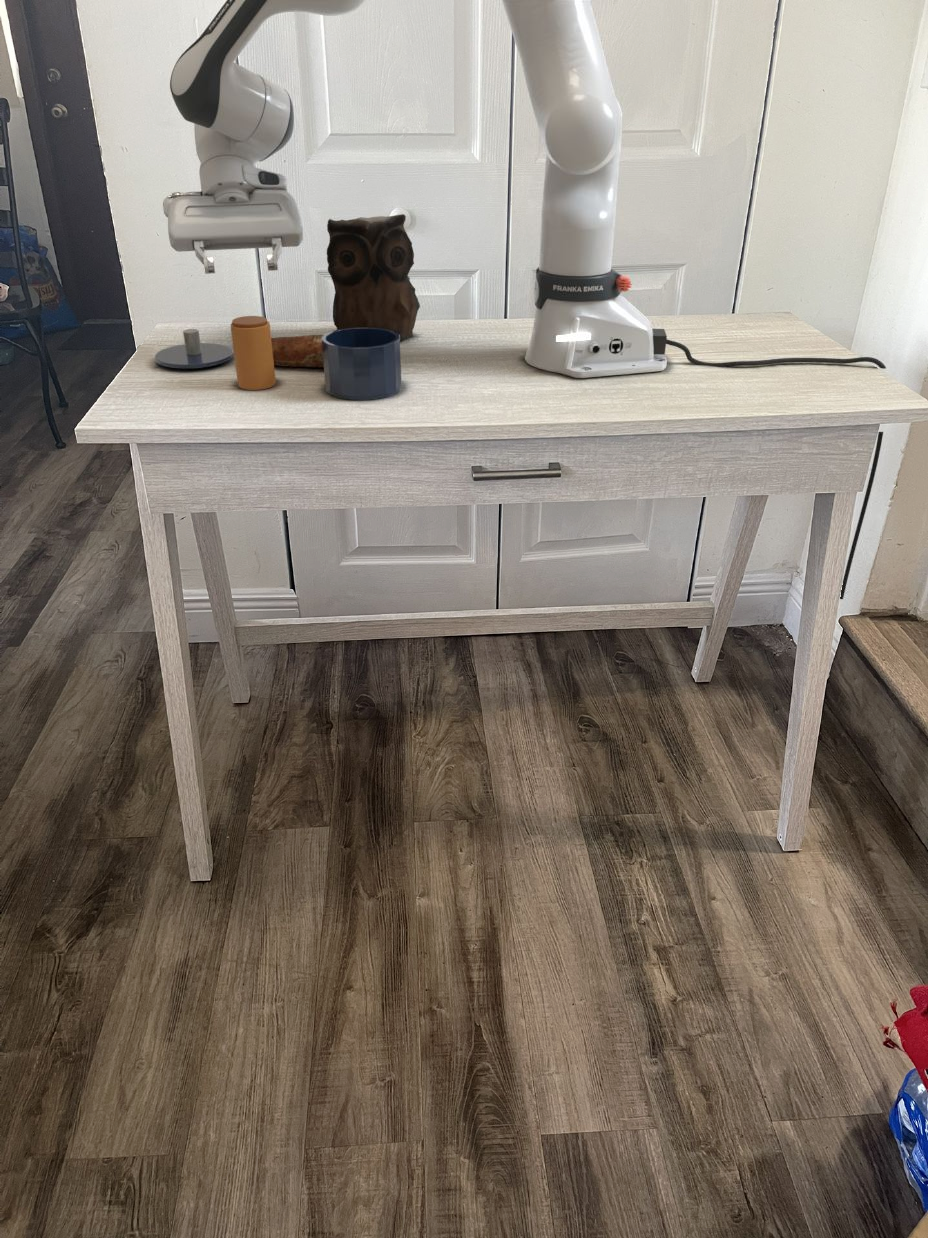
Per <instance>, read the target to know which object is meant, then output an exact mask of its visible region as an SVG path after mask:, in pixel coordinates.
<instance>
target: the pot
mask: <svg viewBox="0 0 928 1238" xmlns="http://www.w3.org/2000/svg"><path fill="white" fill-rule="evenodd" d="M322 350H323V363H324V368H323V374H324V387H325V391H326V393H328V394H329V396H330V395H331V396H332V397H335V398H338V399H343V400H347V401H348V400H349V401H350V400H351V401H372V400H373V401H374V400H380V399H385V398H389V397H392V396H394V395H396V394H398V393H399V392H400V391H401V390H402V361H401V360H402V359H401V358H402V357H401V341H400V335H399V334H398V333H396V332H394V331H392V330H388V329H383V328H373V327H353V328H345V329H339V330H337V329H336V330H331V331H328V332H326V333H325V335H324V336H322Z"/></svg>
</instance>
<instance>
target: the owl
mask: <svg viewBox="0 0 928 1238" xmlns="http://www.w3.org/2000/svg"><path fill="white" fill-rule="evenodd" d="M406 218H407V216H406V215H405V213H402V214H401V213H400V214H395V215H394V214H393V215H389V216H388V215H387V216H385V215H384V216H383V215H382V216H381V215H380V216H379V215H378V216H370V217H363V216H362V217H357V218H353V219H352V218H351V219H347V220H346V219H340V220H339V219H338V220H334V219H332V218H329V219H327V224H326V228H327V229H326V231H327V232H328V236H329V243H328V246H327V248H326V261H327V272H328V274H329V276H330V279H331V280H332V283H333V287H334V297H333V303H332V322H333V325H334V326H335V328H336V330H339V329H345V328H353V327H373V328H383V329H388V330H392V331H394V332H396V333H398V334H399V335H400V342H403V341H405V340H407V339H411V338H413V337H414V328H415V324H416V321H417V316H418V312H419V309H420V308H421V304H420V302H419V298H418V296H417V293H416V287H414V285H413V284H412V282H411V280H410V279H411V278H410V276H409V273H410V271H411V269H412V268H413V266H414V265H415V261H414V258H415V253H414V248H413V242H412V241H411V238H410V237H409V235H408V233H407V231H406V228H405V227H404V226H405V222H406V220H407V219H406Z"/></svg>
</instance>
